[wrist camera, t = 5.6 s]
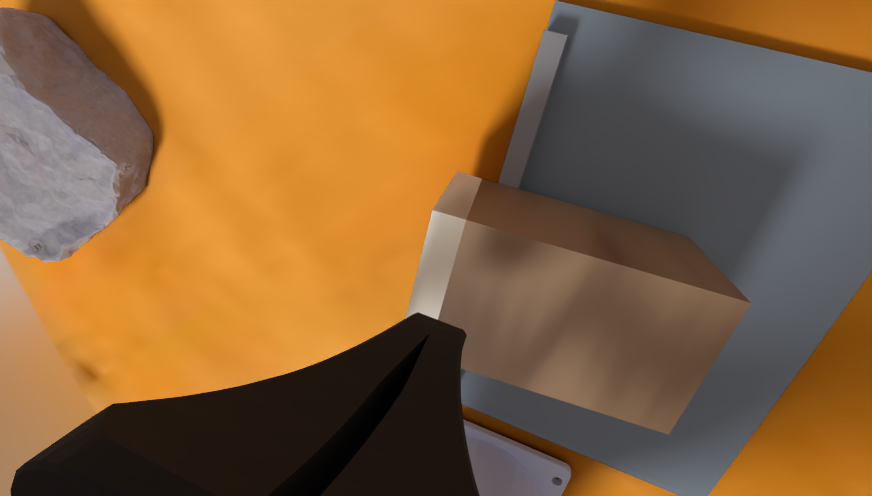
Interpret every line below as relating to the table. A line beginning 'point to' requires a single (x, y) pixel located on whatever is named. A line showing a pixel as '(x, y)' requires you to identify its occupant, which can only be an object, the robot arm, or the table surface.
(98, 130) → the stone block
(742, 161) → the tipping mat
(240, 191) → the table surface
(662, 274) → the walnut block
